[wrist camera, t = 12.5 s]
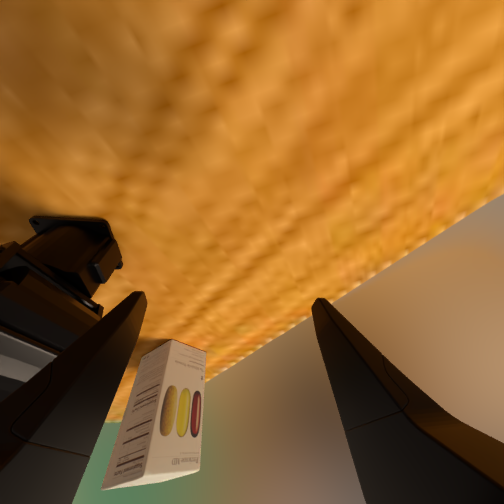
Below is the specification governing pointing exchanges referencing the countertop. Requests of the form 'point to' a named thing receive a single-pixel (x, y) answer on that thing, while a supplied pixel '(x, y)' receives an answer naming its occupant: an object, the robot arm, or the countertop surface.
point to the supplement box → (161, 419)
